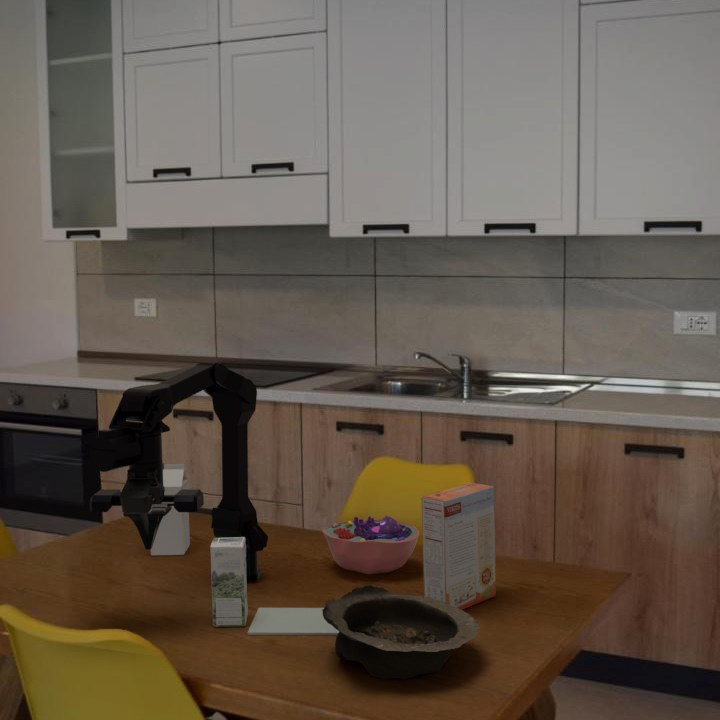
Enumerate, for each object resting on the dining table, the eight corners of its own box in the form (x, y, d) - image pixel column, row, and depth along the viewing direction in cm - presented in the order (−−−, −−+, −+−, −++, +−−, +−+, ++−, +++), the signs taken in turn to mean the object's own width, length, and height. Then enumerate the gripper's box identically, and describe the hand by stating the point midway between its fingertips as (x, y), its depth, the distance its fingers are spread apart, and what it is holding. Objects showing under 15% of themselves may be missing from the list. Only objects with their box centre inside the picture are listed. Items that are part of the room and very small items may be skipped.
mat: (259, 609, 186) (258, 607, 186) (348, 610, 185) (347, 608, 185) (247, 634, 174) (247, 632, 174) (342, 635, 173) (342, 632, 173)
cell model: (345, 553, 220) (344, 501, 218) (433, 564, 211) (433, 510, 210) (307, 576, 204) (306, 520, 203) (400, 589, 196) (399, 531, 194)
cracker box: (471, 590, 195) (470, 480, 192) (497, 597, 190) (496, 485, 188) (421, 609, 185) (419, 494, 183) (447, 617, 181) (445, 499, 178)
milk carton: (184, 555, 220) (180, 467, 218) (150, 556, 220) (147, 468, 218) (190, 546, 227) (186, 460, 225) (157, 546, 227) (154, 461, 225)
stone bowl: (292, 649, 167) (294, 593, 166) (422, 631, 179) (424, 578, 178) (368, 704, 145) (371, 640, 145) (510, 679, 158) (513, 619, 157)
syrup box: (248, 615, 183) (245, 535, 182) (245, 627, 177) (243, 544, 176) (216, 616, 183) (213, 536, 182) (212, 628, 177) (209, 545, 176)
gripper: (76, 470, 171) (81, 562, 173) (188, 470, 170) (191, 563, 172) (98, 457, 182) (101, 544, 184) (202, 457, 181) (205, 544, 183)
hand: (148, 549), depth 180 cm, fingers closed
